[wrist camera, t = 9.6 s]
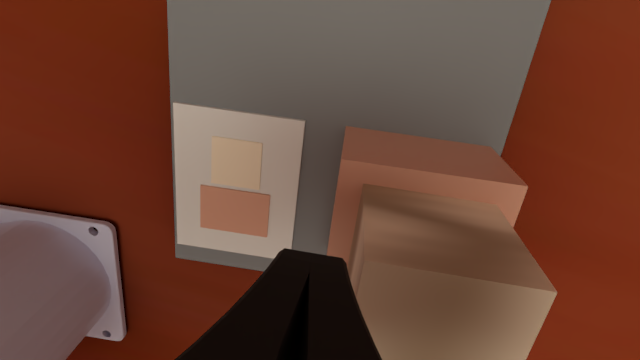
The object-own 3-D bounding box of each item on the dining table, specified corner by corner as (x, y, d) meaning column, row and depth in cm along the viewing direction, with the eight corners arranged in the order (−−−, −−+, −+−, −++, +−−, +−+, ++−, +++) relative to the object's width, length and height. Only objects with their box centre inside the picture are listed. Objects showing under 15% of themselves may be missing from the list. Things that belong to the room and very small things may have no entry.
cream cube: (342, 289, 15) (336, 392, 11) (363, 183, 13) (364, 260, 9) (460, 308, 15) (497, 421, 11) (496, 204, 13) (557, 292, 9)
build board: (183, 246, 21) (175, 257, 20) (173, -192, 14) (160, -206, 13) (449, 288, 20) (453, 301, 20) (585, -145, 13) (601, -157, 12)
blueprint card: (179, 241, 20) (176, 244, 19) (175, 101, 17) (171, 103, 17) (290, 258, 19) (289, 262, 19) (305, 120, 17) (304, 121, 16)
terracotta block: (327, 246, 19) (319, 303, 15) (345, 125, 17) (341, 159, 13) (453, 266, 19) (476, 329, 15) (490, 146, 16) (528, 186, 13)
